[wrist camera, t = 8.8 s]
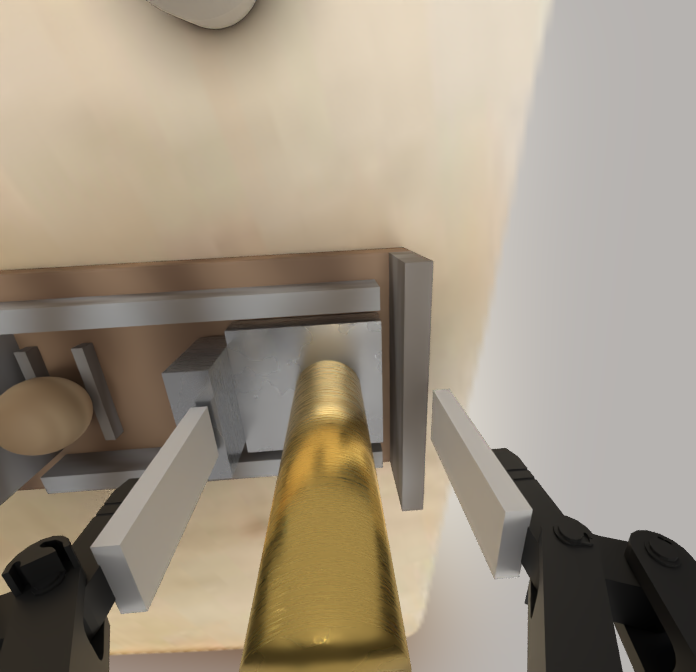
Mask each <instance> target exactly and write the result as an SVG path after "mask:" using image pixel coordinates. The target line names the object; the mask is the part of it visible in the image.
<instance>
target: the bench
mask: <svg viewBox="0 0 696 672" xmlns="http://www.w3.org/2000/svg"><path fill="white" fill-rule="evenodd" d="M432 282H433V261H431V260H429V259H427V258H425V257H423V256H421V255H418V254H416V253H414V252H412V251H410V250H408V249H405V248H386V249H369V250H351V251H334V252H317V253H299V254H282V255H265V256H247V257H230V258H212V259H195V260H178V261H160V262H143V263H126V264H108V265H91V266H73V267H56V268H39V269H21V270H4V271H0V396H1V395H2V394H3V393H4V392H5V391H6V390H8V389H9V388H11V387H12V386H14V385H16V384H18V383H20V382H23V381H25V380H29V379H32V378H37V377H60V378H65V379H68V380H71V381H73V382H75V383H77V384H79V385H80V386H81V387H83V388H84V389H85V390H86V392H87V393H88V394H89V396H90V398H91V400H92V404H93V415H92V419H91V422H90V424H89V426H88V428H87V429H86V431H85V432H84V433H83V434H82V435H81V436H80V437H79V438H78V439H77V440H76V441H75V442H73V443H72V444H70V445H69V446H67V447H65V448H63V449H61V450H58V451H56V452H52V453H49V454H44V455H34V456H31V455H20V454H16V453H12V452H10V451H8V450H6V449H4V448H2V447H1V446H0V505H1V504H3V503H4V502H5V501H6V500H7V499H8V498H9V497H11V496H12V495H13V494H14V493H15V492H16V491H17V490H31V489H44V488H45V489H46V491H47V493H48V494H51V493H64V492H77V491H89V490H102V489H115V488H118V487H120V486H121V485H122V484H123V483H124V482H126V481H127V480H128V479H132V478H140V477H141V476H142V474H143V473H144V471H145V470H146V469H147V467H148V466H149V465H150V463H151V462H152V460H153V459H154V458H155V456H156V455H157V453H158V452H159V451H160V449H161V448H162V446H163V445H164V444H165V442H166V441H167V439H168V438H169V437H170V435H171V434H172V432H173V431H174V430H175V428H176V423H175V420H174V416H173V413H172V409H171V406H170V402H169V399H168V395H167V392H166V388H165V385H164V381H163V377H162V374H161V373H162V372H164V371H165V370H166V369H167V368H168V367H169V366H170V365H171V364H172V363H173V362H174V361H175V360H176V359H177V358H178V357H179V356H180V355H181V354H182V353H184V352H185V351H186V350H187V349H188V348H189V347H190V346H191V345H192V344H193V343H194V342H195V341H196V340H197V339H198V338H199V337H213V336H225V333H224V331H225V330H226V329H227V328H228V327H229V325H230V324H231V323H232V322H233V321H249V320H265V319H280V318H296V317H312V316H328V315H343V314H359V313H375V312H377V313H378V315H379V317H380V319H381V334H382V401H383V442H380V443H371V446H372V452H373V458H374V463H375V468H382V467H383V462H389V461H390V463H391V467H392V471H393V475H394V479H395V484H396V488H397V492H398V496H399V500H400V504H401V508H402V511H410V510H423V498H424V474H425V450H426V426H427V402H428V378H429V354H430V330H431V306H432ZM282 452H283V450H275V451H262V452H248V450H247V445H246V442H245V445H244V448H243V451H242V453H241V456H240V459H239V461H238V464H237V467H236V470H235V472H234V475H233V478H226V479H213V480H207V481H216V480H229V479H242V478H255V477H267V476H278V472H279V467H280V462H281V457H282Z"/></svg>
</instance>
